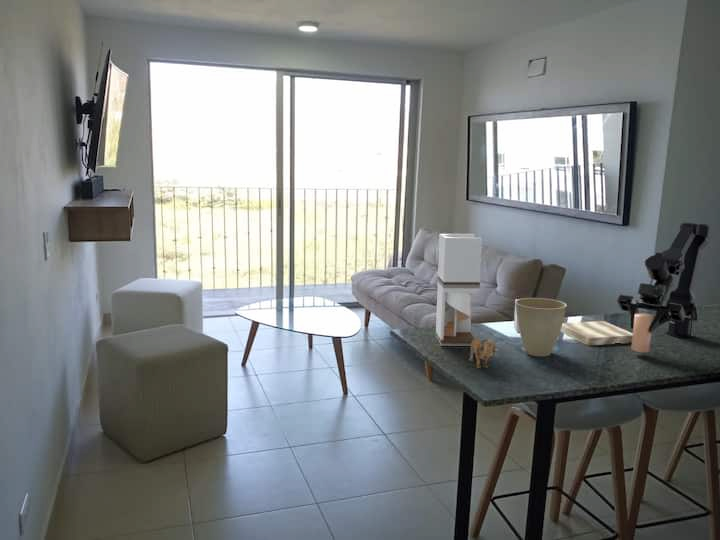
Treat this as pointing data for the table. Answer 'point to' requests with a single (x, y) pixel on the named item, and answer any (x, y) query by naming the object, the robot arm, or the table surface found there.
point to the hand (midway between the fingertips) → (640, 329)
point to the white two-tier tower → (457, 287)
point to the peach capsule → (641, 332)
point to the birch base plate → (596, 333)
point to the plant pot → (539, 324)
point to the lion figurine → (482, 350)
